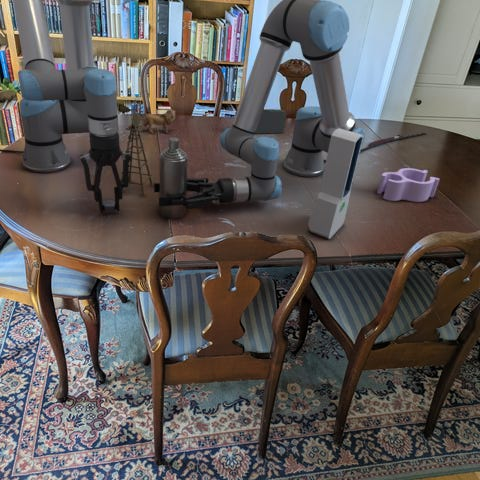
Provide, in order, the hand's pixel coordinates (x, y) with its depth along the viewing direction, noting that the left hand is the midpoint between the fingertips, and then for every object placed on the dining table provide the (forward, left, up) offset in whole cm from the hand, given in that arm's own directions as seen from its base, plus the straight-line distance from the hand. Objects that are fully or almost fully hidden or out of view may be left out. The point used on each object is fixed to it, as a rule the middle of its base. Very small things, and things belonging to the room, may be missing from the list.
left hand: (109, 209), depth 135 cm
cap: (0, 0, +2) cm, 2 cm away
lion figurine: (-5, +70, -1) cm, 71 cm away
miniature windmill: (+2, +17, -1) cm, 18 cm away
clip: (+92, +41, -1) cm, 101 cm away
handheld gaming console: (+36, +84, -1) cm, 92 cm away
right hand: (+13, +4, +5) cm, 14 cm away
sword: (+95, +96, -1) cm, 136 cm away
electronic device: (+63, +9, -1) cm, 64 cm away
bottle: (+17, +6, -1) cm, 18 cm away
